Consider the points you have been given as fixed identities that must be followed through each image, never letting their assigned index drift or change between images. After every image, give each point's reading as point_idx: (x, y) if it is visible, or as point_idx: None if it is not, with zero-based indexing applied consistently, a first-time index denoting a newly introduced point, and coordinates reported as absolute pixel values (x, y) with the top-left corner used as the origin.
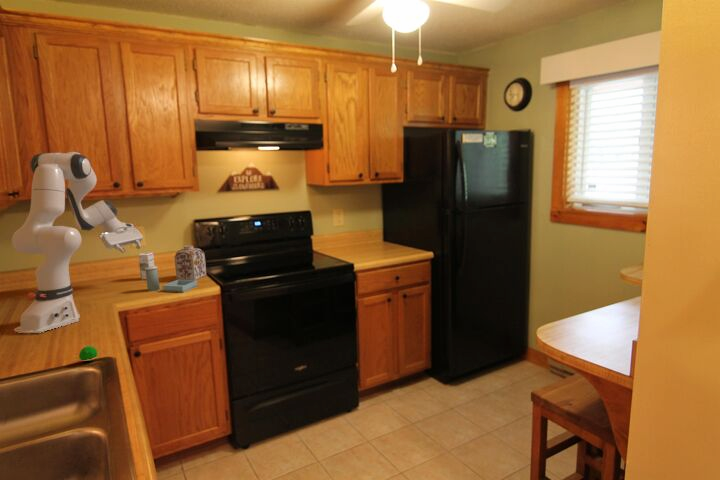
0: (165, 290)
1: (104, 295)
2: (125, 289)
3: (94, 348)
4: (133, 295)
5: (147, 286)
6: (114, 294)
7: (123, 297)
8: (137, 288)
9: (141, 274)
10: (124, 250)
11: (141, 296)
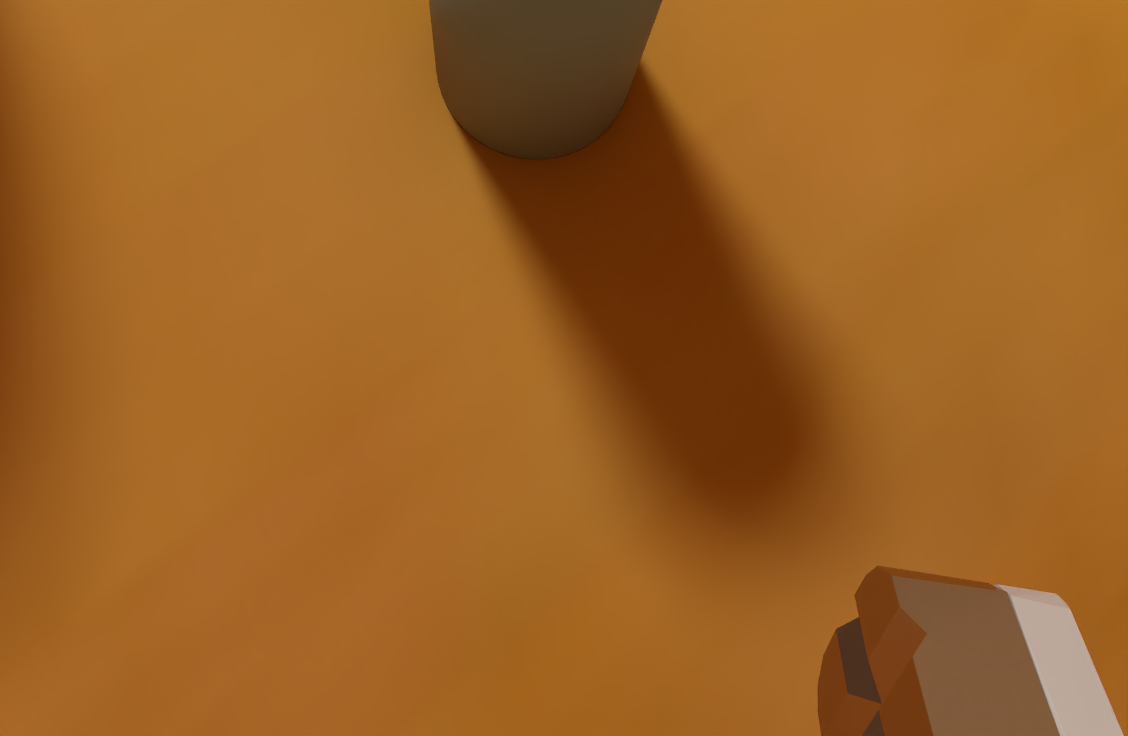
0: None
1: None
2: (588, 634)
3: None
4: (898, 184)
5: (620, 95)
6: None
7: (1025, 273)
8: (495, 441)
9: None
10: (947, 583)
11: (923, 7)
